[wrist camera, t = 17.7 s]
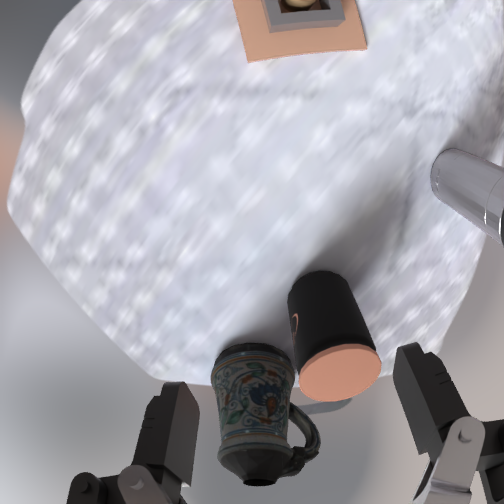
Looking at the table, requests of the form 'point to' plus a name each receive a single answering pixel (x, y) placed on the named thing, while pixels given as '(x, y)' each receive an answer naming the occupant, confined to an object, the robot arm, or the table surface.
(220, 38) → the table surface
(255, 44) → the holder
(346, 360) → the coffee jar
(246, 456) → the beer stein
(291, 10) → the tan dome-topped cylinder
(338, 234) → the table surface
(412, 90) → the table surface
